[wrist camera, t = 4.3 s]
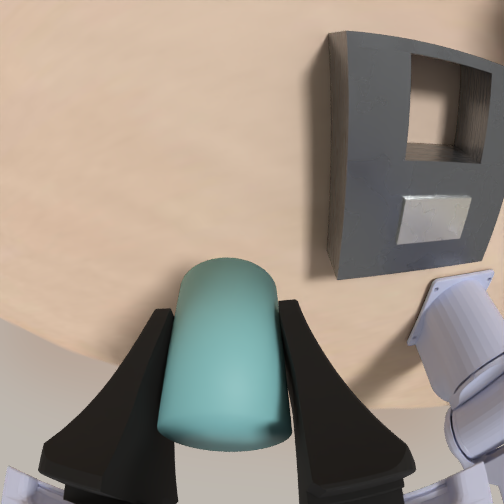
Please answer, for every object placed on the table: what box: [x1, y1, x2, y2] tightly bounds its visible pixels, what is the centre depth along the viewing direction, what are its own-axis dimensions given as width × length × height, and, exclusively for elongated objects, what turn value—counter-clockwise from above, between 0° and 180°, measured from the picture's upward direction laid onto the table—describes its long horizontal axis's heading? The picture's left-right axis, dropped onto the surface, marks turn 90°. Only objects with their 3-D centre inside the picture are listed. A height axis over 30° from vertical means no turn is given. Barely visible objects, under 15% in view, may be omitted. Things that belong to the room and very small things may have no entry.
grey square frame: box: [327, 31, 504, 280], centre depth 15 cm, size 14×12×3 cm
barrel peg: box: [157, 258, 292, 452], centre depth 10 cm, size 4×4×6 cm
